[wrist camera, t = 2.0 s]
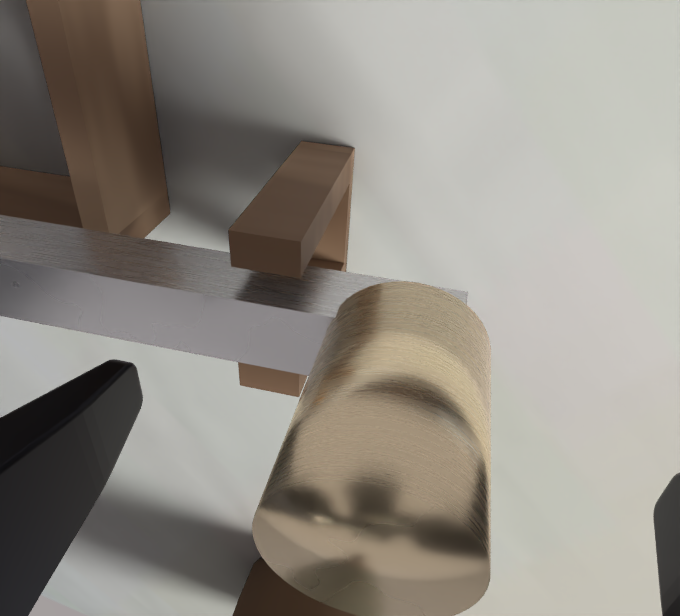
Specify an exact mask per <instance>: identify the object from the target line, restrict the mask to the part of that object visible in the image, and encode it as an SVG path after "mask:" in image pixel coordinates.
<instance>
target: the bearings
mask: <svg viewBox="0 0 680 616" xmlns="http://www.w3.org/2000/svg"><path fill="white" fill-rule="evenodd" d="M354 151H355V148H351V147H343V146H336V145H328V144H321V143H313V142H305V141H301V142H300V143H299V145H298V146H297V147H296V148H295V150H294V151H293V152H292V153H291V154H290V156H289V157H288V158H287V159H286V161H285V162H284V163H283V164H282V165H281V167H280V168H279V169H278V170H277V171H276V173H275V174H274V175H273V176H272V178H271V179H270V180H269V181H268V182H267V184H266V185H265V186H264V187H263V189H262V190H261V191H260V192H259V193H258V195H257V196H256V197H255V198H254V199H253V201H252V202H251V203H250V204H249V206H248V207H247V208H246V209H245V210H244V212H243V213H242V214H241V215H240V217H239V218H238V219H237V220H236V221H235V223H234V224H233V225H232V226H231V227H230V229H229V230H228V233H229V246H230V259H231V267H236V268H242V269H248V270H254V271H260V272H266V273H271V274H277V275H283V276H289V277H295V278H301V276H302V275H303V273H304V271H305V269H306V267H307V266H313V267H320V268H326V269H332V270H338V271H344V272H346V265H347V250H348V236H349V222H350V208H351V194H352V180H353V165H354ZM238 365H239V379H240V385H241V386H246V387H251V388H256V389H261V390H266V391H271V392H276V393H281V394H286V395H291V396H296V397H299V396H300V393H301V391H302V388H303V386H304V383H305V381H306V378H307V375H302V374H297V373H292V372H287V371H281V370H276V369H271V368H266V367H261V366H256V365H251V364H245V363H240V362H238Z"/></svg>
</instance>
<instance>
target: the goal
mask: <svg viewBox="0 0 680 616" xmlns="http://www.w3.org/2000/svg"><path fill="white" fill-rule="evenodd" d="M26 3H27V7H28V11H29V15H30V19H31V23H32V27H33V31H34V35H35V39H36V43H37V47H38V51H39V55H40V59H41V63H42V67H43V71H44V75H45V79H46V83H47V87H48V91H49V95H50V99H51V103H52V107H53V111H54V115H55V118H56V122H57V126H58V130H59V134H60V138H61V142H62V146H63V150H64V154H65V158H66V162H67V166H68V170H69V174H70V177H69V176H63V175H56V174H49V173H43V172H36V171H29V170H23V169H16V168H10V167H3V166H0V215H5V216H11V217H17V218H23V219H29V220H35V221H41V222H47V223H53V224H59V225H65V226H71V227H77V228H83V229H90V230H96V231H102V232H108V233H114V234H120V235H126V236H132V237H138V238H145V237H146V236H147V235H148V234H149V233H150V232H151V231H152V230H153V229H154V228H155V227H156V226H157V225H159V224H160V223H161V222H162V221H163V220H164V219H165V218H166V217H167V216H168V215H169V214H170V206H169V199H168V192H167V185H166V178H165V171H164V164H163V157H162V150H161V143H160V136H159V129H158V122H157V115H156V108H155V101H154V94H153V87H152V80H151V73H150V66H149V59H148V52H147V45H146V38H145V31H144V24H143V17H142V10H141V3H140V0H26Z"/></svg>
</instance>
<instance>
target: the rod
mask: <svg viewBox="0 0 680 616" xmlns="http://www.w3.org/2000/svg"><path fill="white" fill-rule="evenodd" d="M467 293H468V292H465V291H459V290H453V289H447V288H441V287H435V286H430V285H425V284H421V283H415V282H406V281H398V280H392V279H386V278H380V277H374V276H368V275H362V274H356V273H350V272H344V271H338V270H332V269H326V268H320V267H313V266H307V267H306V269H305V271H304V273H303V275H302V276H301V278H295V277H289V276H283V275H277V274H271V273H266V272H260V271H254V270H248V269H242V268H236V267H231V259H230V253H229V252H223V251H217V250H211V249H205V248H198V247H192V246H186V245H180V244H174V243H168V242H162V241H156V240H150V239H144V238H138V237H132V236H126V235H120V234H114V233H108V232H102V231H96V230H90V229H83V228H77V227H71V226H65V225H59V224H53V223H47V222H41V221H35V220H29V219H23V218H17V217H11V216H5V215H0V316H4V317H9V318H15V319H20V320H25V321H30V322H35V323H40V324H45V325H51V326H56V327H61V328H66V329H71V330H76V331H81V332H86V333H92V334H97V335H102V336H107V337H112V338H117V339H122V340H127V341H133V342H138V343H143V344H148V345H153V346H158V347H163V348H169V349H174V350H179V351H184V352H189V353H194V354H199V355H204V356H210V357H215V358H220V359H225V360H230V361H235V362H240V363H245V364H251V365H256V366H261V367H266V368H271V369H276V370H281V371H287V372H292V373H297V374H302V375H307V376H309V377H308V380H307V382H306V385H305V387H304V390H303V393H302V395H301V398H300V400H299V403H298V405H297V408H296V410H295V413H294V416H293V418H292V421H291V423H290V426H289V428H288V431H287V433H286V436H285V439H284V441H283V444H282V446H281V449H280V451H279V454H278V456H277V459H276V462H275V464H274V467H273V469H272V472H271V474H270V477H269V479H268V482H267V485H266V487H265V490H264V492H263V495H262V497H261V500H260V502H259V505H258V508H257V510H256V513H255V515H254V519H253V523H252V533H253V539H254V542H255V545H256V547H257V549H258V551H259V553H260V555H261V556H262V558H263V559H264V560H265V562H266V563H267V564H268V566H269V567H270V568H271V569H272V570H273V571H274V572H275V573H276V574H277V575H279V576H280V577H281V578H282V579H283V580H284V581H286V582H287V583H288V584H290V585H291V586H293V587H294V588H295V589H297V590H299V591H300V592H302V593H304V594H305V595H307V596H309V597H311V598H313V599H315V600H317V601H319V602H321V603H324V604H326V605H328V606H331V607H333V608H336V609H339V610H342V611H344V612H348V613H351V614H355V615H358V616H453V615H456V614H459V613H461V612H463V611H465V610H467V609H469V608H470V607H472V606H473V605H474V604H476V603H477V602H478V601H479V600H480V599H481V598H482V596H483V595H484V594H485V592H486V590H487V588H488V585H489V582H490V491H491V347H490V341H489V337H488V334H487V331H486V329H485V327H484V325H483V324H482V322H481V321H480V319H479V318H478V316H477V315H476V314H475V313H474V312H473V311H472V310H471V309H470V308H469V307H468V306H467Z"/></svg>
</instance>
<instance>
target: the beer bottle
mask: <svg viewBox="0 0 680 616" xmlns="http://www.w3.org/2000/svg"><path fill="white" fill-rule="evenodd" d="M233 616H358V615H355V614H351V613H348V612H344V611H342V610H339V609H336V608H333V607H331V606H328V605H326V604H324V603H321V602H319V601H317V600H315V599H313V598H311V597H309V596H307V595H305V594H304V593H302V592H300V591H299V590H297V589H295V588H294V587H293V586H291V585H290V584H288V583H287V582H286V581H284V580H283V579H282V578H281V577H280V576H279V575H277V574H276V573H275V572H274V571H273V570H272V569H271V568H270V567H269V566H268V564H267V563H266V562H265V560H264V559H263V558H260V559H259V560H257V561H256V562H255V563H254V565H253V567H252V569H251V572H250V574H249V576H248V579H247V581H246V583H245V586H244V588H243V590H242V593H241V595H240V597H239V600H238V602H237V605H236V608H235V611H234V613H233Z"/></svg>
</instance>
